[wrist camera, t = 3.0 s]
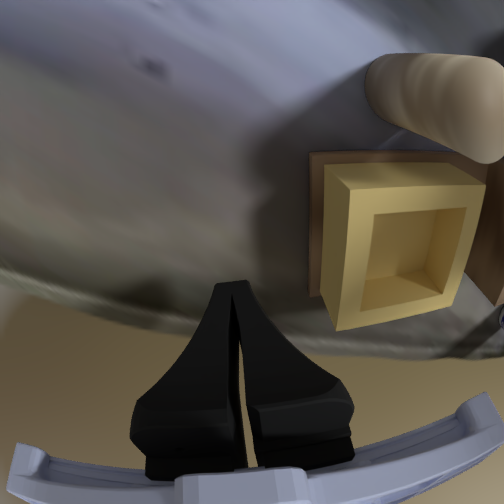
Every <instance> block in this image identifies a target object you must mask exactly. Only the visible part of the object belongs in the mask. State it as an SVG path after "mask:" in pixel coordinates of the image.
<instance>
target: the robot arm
mask: <svg viewBox="0 0 504 504" xmlns="http://www.w3.org/2000/svg"><path fill="white" fill-rule="evenodd" d="M239 340H240V345H241V349H242V354H243V366H244V379H245V393H246V394H245V395H246V406H247V411H248V416H249V421H250V425H251V430H252V435H253V444H254V452H255V455H256V459H257V464H258V467H252V468H248V461H247V454H246V445H245V438H244V430H243V421H242V412H241V404H240V394H239ZM353 413H354V404H353V401H352V399H351V397H350V395H349V393H348V391H347V389H346V388H345V386H344V385H343V383H342V382H341V380H340V379H338V378H337V377H335V376H333V375H332V374H330V373H328V372H327V371H325V370H324V369H322V368H321V367H319V366H318V365H317V364H315V363H314V362H312V361H311V360H310V359H308V358H307V357H306V356H305V355H304V354H303V353H301V352H300V351H299V350H298V349H297V348H296V347H295V346H293V345H292V344H291V343H290V342H289V341H288V340H287V339H286V338H285V336H284V335H283V334H282V333H281V332H280V331H279V330H278V329H277V327H276V326H275V325H274V324H273V322H272V321H271V320H270V319H269V317H268V316H267V314H266V313H265V312H264V310H263V309H262V307H261V305H260V304H259V302H258V301H257V299H256V297H255V295H254V293H253V291H252V289H251V286H250V283H249V281H247V280H241V281H233V282H224V283H217V284H216V285H215V286H214V290H213V293H212V296H211V299H210V302H209V304H208V307H207V309H206V311H205V314H204V316H203V318H202V320H201V322H200V324H199V326H198V328H197V330H196V332H195V333H194V335H193V337H192V339H191V340H190V342H189V344H188V345H187V346H186V348H185V350H184V351H183V352H182V354H181V355H180V356H179V358H178V359H177V361H176V362H175V363H174V364H173V365H172V367H171V368H170V369H169V370H168V371H167V372H166V373H165V374H164V376H163V377H162V378H161V379H160V380H159V381H158V382H157V383H156V384H155V385H154V386H153V387H152V388H151V389H149V390H148V391H147V392H146V393H145V394H144V395H143V396H142V397H140V398H139V399H138V400H137V402H136V405H135V408H134V412H133V415H132V419H131V427H130V439H131V441H132V442H133V444H134V445H135V446H136V447H137V448H138V449H139V450H141V452H142V453H143V454H144V455H145V456H146V464H145V465H146V466H145V470H142V469H129V468H119V467H110V466H102V465H95V464H88V463H82V462H76V461H71V460H66V459H61V458H56V457H51V456H49V455H48V454H47V453H46V452H45V451H44V450H42V449H40V448H38V447H35V446H32V445H28V444H24V443H20V442H17V444H16V448H15V452H14V456H13V460H12V464H11V468H10V473H9V477H8V482H7V488H6V490H7V491H8V492H10V493H12V494H13V495H15V496H17V497H19V498H21V499H23V500H25V501H26V502H28V503H30V504H398V503H400V502H403V501H405V500H408V499H410V498H412V497H415V496H417V495H419V494H421V493H423V492H426V491H428V490H430V489H432V488H434V487H436V486H438V485H440V484H442V483H444V482H446V481H448V480H450V479H452V478H454V477H455V476H457V475H459V474H461V473H463V472H464V471H466V470H468V469H470V468H472V467H473V466H475V465H477V464H478V463H480V462H482V461H483V460H484V459H485V458H487V457H488V456H489V455H491V454H492V453H493V452H494V451H495V450H497V449H498V448H499V447H500V446H501V445H503V443H504V423H503V421H502V419H501V417H500V415H499V413H498V411H497V410H496V408H495V406H494V404H493V402H492V401H491V399H490V397H489V395H488V393H487V392H483V393H481V394H479V395H477V396H475V397H473V398H471V399H469V400H467V401H465V402H464V403H463V404H461V405H460V407H459V408H458V409H457V410H456V412H455V413H454V414H452V415H450V416H448V417H445V418H443V419H440V420H438V421H436V422H433V423H431V424H428V425H426V426H423V427H421V428H418V429H415V430H413V431H410V432H407V433H404V434H401V435H399V436H396V437H392V438H390V439H386V440H383V441H380V442H377V443H373V444H370V445H366V446H363V447H360V448H356V449H354V448H353V445H352V441H351V438H350V436H351V430H350V427H349V423H350V420H351V418H352V415H353Z"/></svg>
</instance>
